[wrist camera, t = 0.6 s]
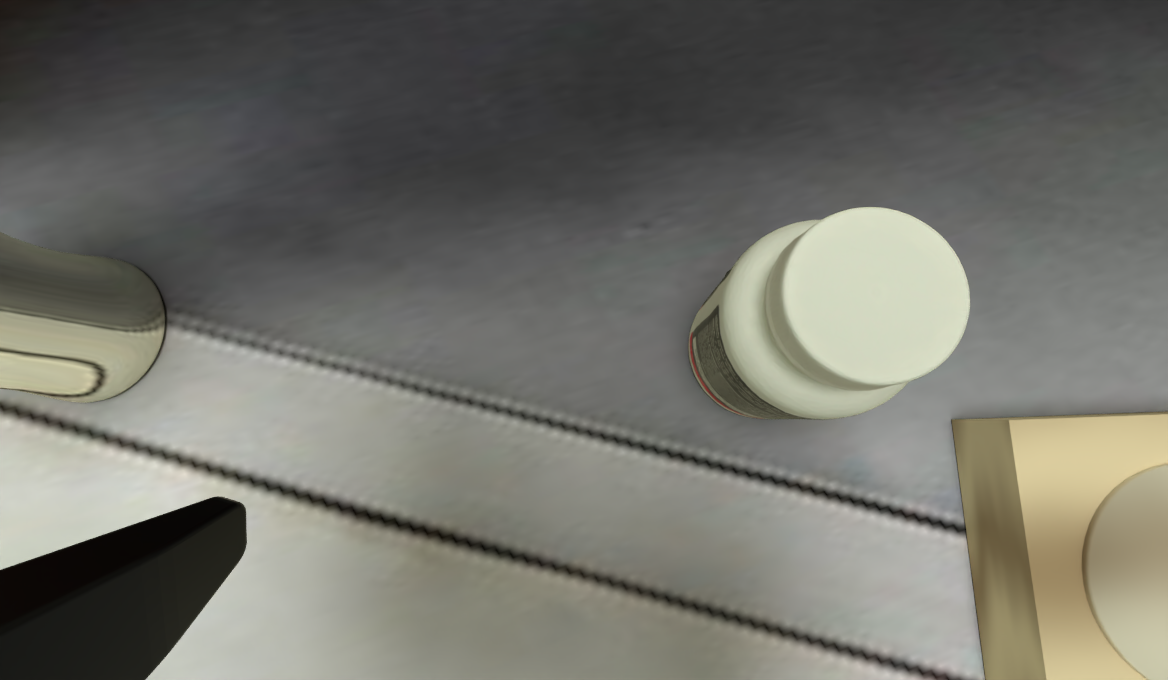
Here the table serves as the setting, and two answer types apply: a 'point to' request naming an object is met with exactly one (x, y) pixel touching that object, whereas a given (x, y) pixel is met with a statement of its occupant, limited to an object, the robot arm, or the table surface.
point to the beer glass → (74, 323)
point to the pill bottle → (830, 317)
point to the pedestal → (1068, 543)
